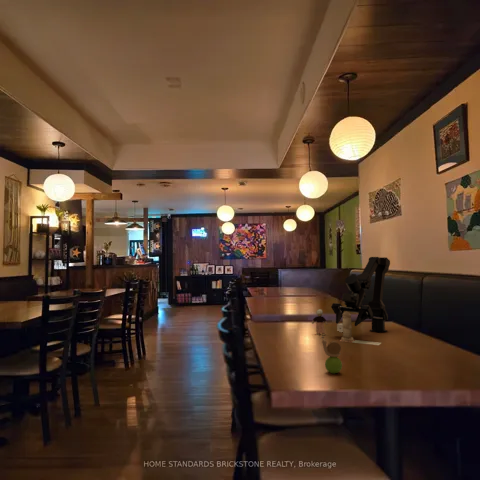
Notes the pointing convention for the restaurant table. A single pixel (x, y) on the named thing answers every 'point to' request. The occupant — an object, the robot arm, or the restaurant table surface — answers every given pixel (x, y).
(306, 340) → the restaurant table surface
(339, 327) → the die
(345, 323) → the pawn
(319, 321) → the grandmother figurine
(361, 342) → the board
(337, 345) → the snail figurine
